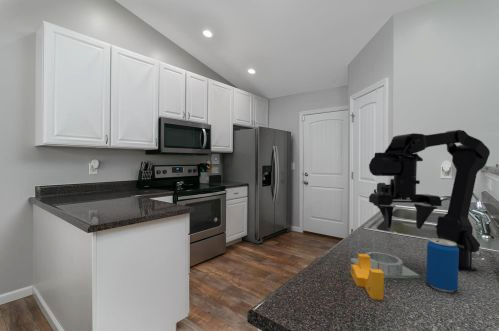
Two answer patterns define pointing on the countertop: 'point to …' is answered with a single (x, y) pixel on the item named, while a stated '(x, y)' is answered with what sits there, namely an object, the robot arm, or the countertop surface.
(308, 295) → the countertop surface
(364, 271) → the pipe clamp
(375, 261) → the duct collar
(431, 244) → the beverage can
